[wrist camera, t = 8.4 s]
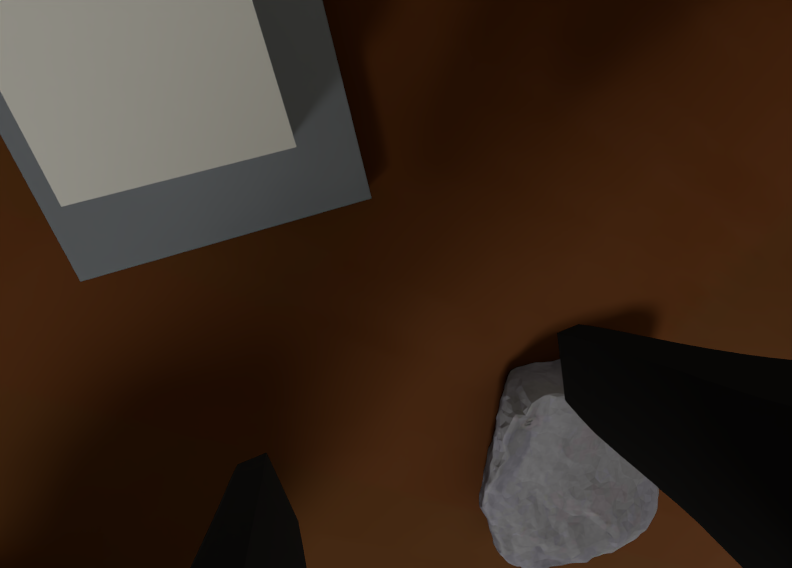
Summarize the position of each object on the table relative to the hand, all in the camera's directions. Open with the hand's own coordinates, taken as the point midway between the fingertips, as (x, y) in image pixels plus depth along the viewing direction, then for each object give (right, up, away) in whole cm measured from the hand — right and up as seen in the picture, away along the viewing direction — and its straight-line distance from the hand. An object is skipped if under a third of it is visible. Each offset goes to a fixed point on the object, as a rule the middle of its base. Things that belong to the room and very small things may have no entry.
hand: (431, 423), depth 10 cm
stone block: (+8, -6, +15) cm, 18 cm away
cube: (-8, +9, +3) cm, 12 cm away
